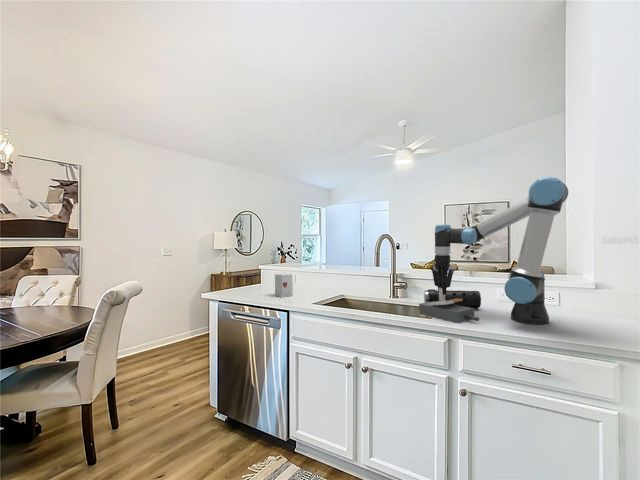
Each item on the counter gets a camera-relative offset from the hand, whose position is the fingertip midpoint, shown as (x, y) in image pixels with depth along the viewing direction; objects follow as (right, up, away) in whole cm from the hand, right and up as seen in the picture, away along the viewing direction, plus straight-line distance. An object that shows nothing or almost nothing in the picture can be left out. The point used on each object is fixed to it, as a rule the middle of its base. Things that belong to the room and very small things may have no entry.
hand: (442, 300), depth 167 cm
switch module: (+1, -7, -8) cm, 11 cm away
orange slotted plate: (+3, 0, -4) cm, 5 cm away
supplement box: (-88, -7, +54) cm, 103 cm away
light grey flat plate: (-3, 0, -8) cm, 8 cm away
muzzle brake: (+9, -7, +11) cm, 16 cm away
